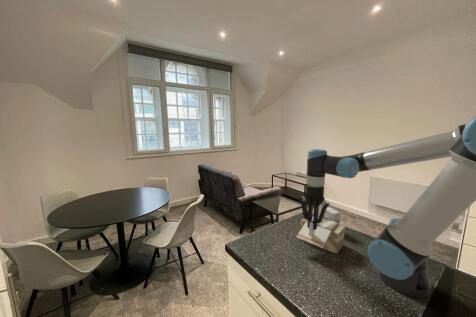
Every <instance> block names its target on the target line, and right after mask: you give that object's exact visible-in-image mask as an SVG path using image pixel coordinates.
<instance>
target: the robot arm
mask: <svg viewBox="0 0 476 317" xmlns="http://www.w3.org/2000/svg"><path fill="white" fill-rule="evenodd" d="M444 158H451V159H450V161H449V162H448V163H447V164H446V165H445V166H444V167H443V168H442V170H441V171H440V172H439V173H438V175H436V177H435V178H434V179H433V180H432V181H431V183H430V184H429V185H428V186H427V187H426V188H425V190H424V191H423V192H422V193H421V195H420V196H419V197H418V198H417V199H416V201H414V203H413V204H412V206H410V208H409V209H408V210H407V211H406V212H405V214H404V215H403V216H402V217H401V218H398V217H396V218H391V219H390V220H389V222H388V224H387V225H386V226H385V228H384V229H383V230H382V232H380V234H379V235H378V236H377V238H375V239H374V240H372V241H371V242H370V243H369V245H368V247H367V255H368V258H369V261H370V263H371V264H372V265H373V266H374V267H375V269H377V275H378V277H379V278H380V279H381V281H383V283H384V284H386V285H387V286H388V287H390V288H391V289H393V290H395V291H396V292H399V293H401V294H404V295H407V296H410V297H413V298H414V297H415V298H427V297H429V296H430V295H431V293H432V282H431V280H430V279H431V278H430V276H429V273H428V264H429V259H430V257H431V255H432V254H433V249H432V246H431V245H432V244H433V243H434V242H435V241H436V240H437V239H438V238H440V236H441V235H443V233H444V232H446V230H447V229H448V228H449V227H450V226H451V225H452V224H454V222H455V221H456V220H457V219H458V218H459V217H460V216H462V215H463V213H465V211H466V210H468V209H469V207H471V206H472V205H473V204H474V203H475V202H476V115H475V116H474V117H472V118H470V120H469V121H468V122H467V123H465V124H461V125H457V126H456V128H455V129H453V130H451V131H446V132H442V133H438V134H434V135H430V136H425V137H422V138H417V139H414V140H409V141H405V142H401V143H397V144H392V145H389V146H384V147H380V148H377V149H372V150H368V151H363V152H359V153H356V154H351V155H343V156H335V155H328V152H327V150H325V149H319V148H317V149H316V148H315V149H310V150H308V152H307V159H306V176H305V177H306V178H305V179H306V180H305V194H304V195H302V196H300V197H299V201H300V204H301V208H302V215H303V219H307V220H308V225H307V226H308V228H309V236H311V237H313V236H314V235H315V230H316V229H317V223H321V222H322V220H323V217H324V214H325V212H326V209H327V208H328V207H330V204H331V203H330V202H327V201H326V199H325V197H324V196H325V185H326V184H325V182H326V181H325V180H326V174H327V175H331V176H334V177H340V178H344V179H345V178H346V179H354V178H356V176H357V175H358V173H361V172H366V171H367V172H368V171H372V170H378V169H384V168H389V167H390V168H391V167H396V166H401V165H402V166H403V165H408V164H415V163H420V162H427V161H433V160H438V159H439V160H440V159H444ZM321 204H322V207H321V210H320V205H321ZM319 210H320V211H319ZM319 212H320V213H319ZM312 216H313V218H312ZM318 217H319V218H318ZM312 219H313V220H312Z"/></svg>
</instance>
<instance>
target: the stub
mask: <svg viewBox="0 0 476 317" xmlns="http://www.w3.org/2000/svg"><path fill="white" fill-rule="evenodd" d="M307 225H308V223H307V222H306V223H305V224H304V226H303V227H302V229H301V230H300V229H299V232H298V233H297V235H296V239H299V240H301V241H303V240H304V242H305V243H308V242H309V244H311V245H313V244H314V246H316V247H318V246H319V247H318V248H320V249H323V247H324V245H325V243H326V241H327V239H328V237H329V235H330V233H331V231H330V230H327V229H324V228H321V227H318V226H317V229H316V230H315V235H314V236H313V237H311V236H309V228H308V226H307Z"/></svg>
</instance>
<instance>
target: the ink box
mask: <svg viewBox="0 0 476 317" xmlns="http://www.w3.org/2000/svg"><path fill="white" fill-rule="evenodd" d="M323 218H324V219H327V220H330V221H334V222H337V223H338V224H341V212H340V211H339V210H336V209H335V208H332V207H330V206H328V207H327V209H326V212H325V214H324V217H323Z"/></svg>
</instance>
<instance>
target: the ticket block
mask: <svg viewBox="0 0 476 317" xmlns="http://www.w3.org/2000/svg"><path fill="white" fill-rule="evenodd" d="M313 216H314V215H312V218H313ZM318 218H319V216H318ZM312 220H313V219H312ZM306 222H307V223H308V220H307V219H304V218H302V219H301V220H300V228H299V231H300V230H301V229H302V227H303V226H304V224H305V223H306ZM317 226H318V227H321V228H324V229H327V230H330V231H331V233H330V235H329V237H328V239H327V241H326V243H325V245H324V247H323V248H322V249H323V250H326V251H328V252H330V253H333V254H334V255H335V254H336V255H337V254H338V253H339V252H340V250H341V249H342V248H343V247H344V243H345V230H346V225H343V224H341V223H340V224H338V223H337V222H334V221H330V220H327V219H324V218H323V220H322V222H321V223H317ZM302 241H304V240H302ZM304 242H305V241H304ZM307 243H309V242H307ZM309 244H310V243H309ZM312 245H314V244H312ZM314 246H315V245H314ZM317 247H318V248H320V247H319V246H317Z"/></svg>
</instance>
